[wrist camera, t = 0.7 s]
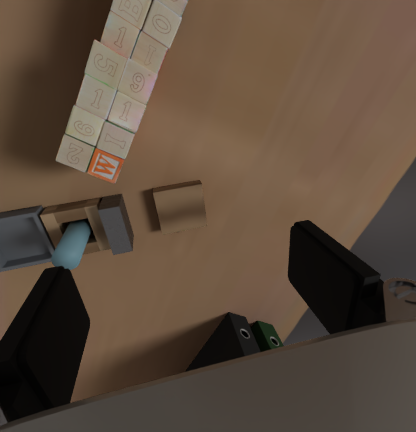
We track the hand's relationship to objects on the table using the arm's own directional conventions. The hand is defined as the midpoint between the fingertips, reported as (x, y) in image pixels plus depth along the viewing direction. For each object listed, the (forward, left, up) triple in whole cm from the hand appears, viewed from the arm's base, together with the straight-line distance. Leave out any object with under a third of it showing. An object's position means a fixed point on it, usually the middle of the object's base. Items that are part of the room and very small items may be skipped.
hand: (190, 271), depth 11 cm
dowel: (+12, -15, -32) cm, 37 cm away
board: (+12, +2, -33) cm, 35 cm away
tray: (+12, -24, -32) cm, 42 cm away
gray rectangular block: (+12, -9, -32) cm, 35 cm away
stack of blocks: (-8, -2, -33) cm, 34 cm away
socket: (+12, -15, -32) cm, 37 cm away
